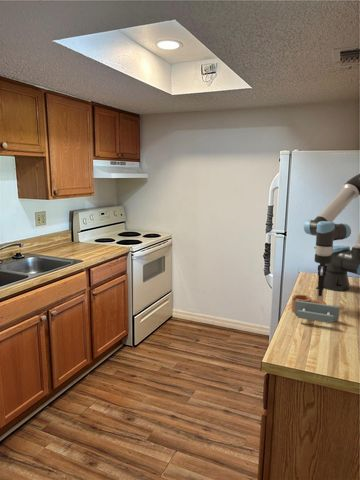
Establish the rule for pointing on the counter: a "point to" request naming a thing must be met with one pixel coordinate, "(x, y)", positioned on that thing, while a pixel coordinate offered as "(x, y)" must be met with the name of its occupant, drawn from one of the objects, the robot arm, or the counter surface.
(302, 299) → the bracket
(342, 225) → the robot arm
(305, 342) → the counter surface
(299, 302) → the plate
